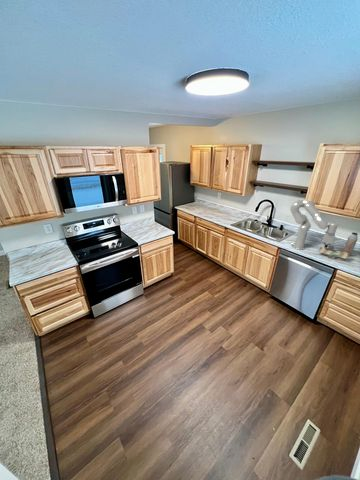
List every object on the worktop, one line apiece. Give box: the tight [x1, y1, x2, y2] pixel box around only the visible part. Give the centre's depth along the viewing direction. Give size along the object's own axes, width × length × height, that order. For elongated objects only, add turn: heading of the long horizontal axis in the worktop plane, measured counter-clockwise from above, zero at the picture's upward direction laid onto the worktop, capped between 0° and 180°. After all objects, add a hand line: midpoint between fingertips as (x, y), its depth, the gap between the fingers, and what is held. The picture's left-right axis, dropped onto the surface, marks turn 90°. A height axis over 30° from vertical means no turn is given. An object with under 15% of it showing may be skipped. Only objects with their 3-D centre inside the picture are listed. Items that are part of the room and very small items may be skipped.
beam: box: [318, 246, 348, 260], centre depth 219 cm, size 26×6×8 cm, turn 52°
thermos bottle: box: [342, 232, 359, 258], centre depth 218 cm, size 8×8×28 cm
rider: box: [327, 245, 335, 251], centre depth 219 cm, size 5×5×7 cm
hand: (325, 247), depth 221 cm, fingers closed
